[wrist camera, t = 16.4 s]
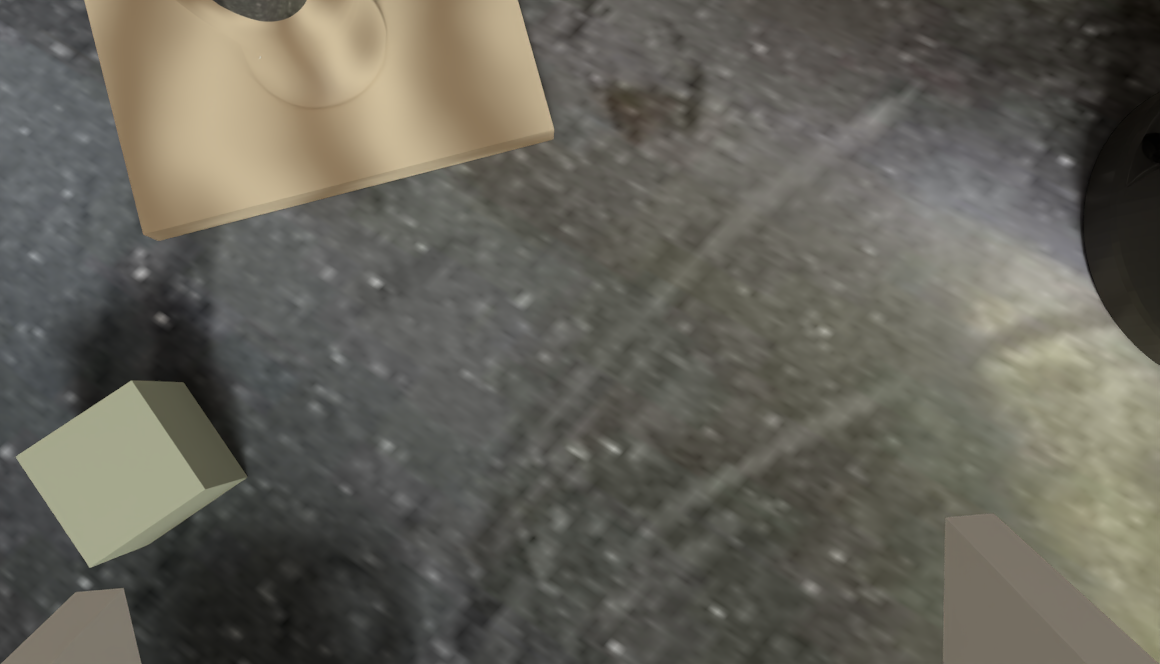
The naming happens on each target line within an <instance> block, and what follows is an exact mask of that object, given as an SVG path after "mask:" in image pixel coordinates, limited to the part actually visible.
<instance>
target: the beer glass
mask: <svg viewBox="0 0 1160 664" xmlns="http://www.w3.org/2000/svg"><path fill="white" fill-rule="evenodd" d="M176 1H177V2H178V3H180V4H181V5H182V6H184V7H185V8H186V9H187V10H189V11H190V12H191V13H193V14H194V15H195V16H197V17H198V18H200V19H201V20H203V21H204V22H206V23H207V24H209V25H210V26H212V27H214V28H215V29H217V30H218V31H220V32H221V33H223V34H225V35H226V36H228V37H230V38H231V39H233V40H235V41H236V42H238V43H239V44H240V45H241V48H242V51H243V54H244V56H245V59H246V61H247V64H248V66H249V68H250V69H251V71H252V73H253V74H254V76H255V77H256V79H257V80H258V81H259V82H260V83H261V85H262V86H263V87H264V88H265V89H266V90H268V91H269V92H270V93H271V94H273V95H274V96H276V97H277V98H279V99H281V100H283V101H285V102H287V103H290V104H292V105H296V106H300V107H305V108H327V107H332V106H336V105H340V104H342V103H345V102H347V101H349V100H351V99H353V98H354V97H356V96H357V95H359V94H360V93H361V92H363V91H364V90H365V89H366V88H367V87H368V86H369V85H370V84H371V83H372V81H373V80H374V79H375V77H376V76H377V74H378V72H379V70H380V68H381V66H382V63H383V60H384V57H385V53H386V45H387V35H386V27H385V23H384V19H383V17H382V14H381V12H380V10H379V8H378V6H377V4H376V3H375V1H374V0H176Z"/></svg>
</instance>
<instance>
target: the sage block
mask: <svg viewBox="0 0 1160 664" xmlns="http://www.w3.org/2000/svg"><path fill="white" fill-rule="evenodd" d="M16 458H17V460H18V461H19V463H20V464H21V466H22V467H23V469H24V470H25V472H26V473H27V475H28V476H29V478H30V479H31V481H32V482H33V484H34V485H35V487H36V488H37V490H38V491H39V493H40V494H41V496H42V497H43V499H44V500H45V502H46V503H47V505H48V506H49V507H50V509H51V510H52V512H53V513H54V515H55V516H56V518H57V519H58V521H59V522H60V524H61V525H62V527H63V528H64V530H65V531H66V533H67V534H68V536H69V537H70V539H71V540H72V542H73V543H74V545H75V546H76V548H77V549H78V551H79V552H80V554H81V555H82V557H83V558H84V560H85V561H86V563H87V564H88V566H89V567H90V568H91V567H93V566H96V565H98V564H101V563H103V562H106V561H108V560H111V559H113V558H116V557H119V556H121V555H124V554H126V553H129V552H131V551H134V550H136V549H139V548H141V547H144V546H147V545H149V544H150V543H152V542H153V541H155V540H156V539H158V538H159V537H160V536H162V535H163V534H165V533H166V532H168V531H169V530H171V529H172V528H174V527H175V526H177V525H178V524H180V523H181V522H183V521H184V520H185V519H187V518H188V517H190V516H191V515H193V514H194V513H196V512H197V511H199V510H200V509H202V508H203V507H205V506H206V505H207V504H209V503H210V502H212V501H213V500H215V499H216V498H218V497H219V496H221V495H222V494H224V493H225V492H227V491H228V490H230V489H231V488H232V487H234V486H235V485H237V484H238V483H240V482H241V481H243V480H244V479H246V478H247V475H246V474H245V472H244V471H243V469H242V468H241V466H240V465H239V463H238V462H237V461H236V459H235V458H234V456H233V455H232V453H231V452H230V450H229V449H228V447H227V446H226V444H225V443H224V441H223V440H222V438H221V437H220V435H219V434H218V432H217V431H216V429H215V428H214V427H213V425H212V424H211V422H210V421H209V419H208V418H207V416H206V415H205V413H204V412H203V410H202V409H201V407H200V406H199V404H198V403H197V401H196V400H195V398H194V397H193V396H192V394H191V393H190V391H189V390H188V388H187V387H186V385H185V384H184V382H161V381H134V380H131V381H130V382H128V383H127V384H125V385H124V386H122V387H121V388H119V389H118V390H116V391H115V392H113V393H112V394H110V395H109V396H107V397H106V398H104V399H103V400H101V401H100V402H98V403H97V404H95V405H93V406H92V407H90V408H89V409H87V410H86V411H84V412H83V413H81V414H80V415H78V416H77V417H75V418H74V419H72V420H71V421H69V422H68V423H66V424H65V425H63V426H62V427H60V428H59V429H57V430H56V431H54V432H53V433H51V434H50V435H48V436H46V437H45V438H43V439H42V440H40V441H39V442H37V443H36V444H34V445H33V446H31V447H30V448H28V449H27V450H25V451H24V452H22V453H21V454H19V455H18V456H16Z"/></svg>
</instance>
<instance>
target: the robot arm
mask: <svg viewBox="0 0 1160 664" xmlns="http://www.w3.org/2000/svg"><path fill="white" fill-rule="evenodd" d="M1084 240H1085V248H1086V254H1087V259H1088V263H1089V267H1090V270H1091V274H1092V277H1093V280H1094V282H1095V285H1096V288H1097V290H1098V292H1099V294H1100V297H1101V299H1102V301H1103V302H1104V304H1105V306H1106V308H1107V310H1108V311H1109V313H1110V315H1111V316H1112V318H1113V319H1114V321H1115V322H1116V323H1117V325H1118V326H1119V328H1120V329H1121V330H1122V331H1123V332H1124V334H1125V335H1126V336H1127V337H1128V338H1129V339H1130V340H1131V341H1132V343H1133V344H1134V345H1135V346H1136V347H1137V348H1139V349H1140V350H1141V351H1142V352H1143V353H1144V354H1145V355H1146V356H1148V357H1149V358H1150V359H1152V360H1153V361H1154V362H1155V363H1157V364H1158V365H1160V92H1159V93H1157V94H1156V95H1154V96H1152V97H1151V98H1149V99H1148V100H1146V101H1145V102H1143V103H1142V104H1141V105H1139V106H1138V107H1137V108H1136V109H1134V110H1133V111H1132V112H1131V113H1130V114H1129V115H1128V116H1127V117H1126V118H1125V119H1124V120H1123V121H1122V122H1121V123H1120V124H1119V126H1118V127H1117V128H1116V129H1115V130H1114V132H1113V133H1112V135H1111V136H1110V137H1109V139H1108V140H1107V142H1106V144H1105V145H1104V147H1103V149H1102V151H1101V153H1100V155H1099V157H1098V159H1097V161H1096V163H1095V166H1094V168H1093V171H1092V174H1091V177H1090V180H1089V185H1088V189H1087V193H1086V199H1085V207H1084ZM1 664H141V660H140V656H139V652H138V648H137V643H136V639H135V635H134V631H133V626H132V622H131V618H130V614H129V609H128V605H127V601H126V596H125V592H124V588H119V589H108V590H96V591H84V592H76V593H74V594H73V595H72V596H71V597H70V598H69V599H68V600H67V601H66V602H65V603H64V604H63V605H62V606H61V607H60V608H59V609H58V610H57V611H56V612H55V613H54V614H53V615H51V616H50V617H49V618H48V619H47V620H46V621H45V622H44V623H43V624H42V625H41V626H40V627H39V628H38V629H37V630H36V631H35V632H34V633H33V634H32V635H31V636H30V637H28V638H27V639H26V640H25V641H24V642H23V643H22V644H21V645H20V646H19V647H18V648H17V649H16V650H15V651H14V652H13V653H12V654H11V655H10V656H9V657H8V658H7V659H6V660H4V661H3V662H2V663H1ZM943 664H1159V663H1158V662H1156V661H1155V660H1154V659H1153V658H1152V657H1151V656H1150V655H1149V654H1148V653H1147V652H1145V651H1144V650H1143V649H1142V648H1141V647H1140V646H1139V645H1138V644H1137V643H1136V642H1134V641H1133V640H1132V639H1131V638H1130V637H1129V636H1128V635H1127V634H1126V633H1125V632H1123V631H1122V630H1121V629H1120V628H1119V627H1118V626H1117V625H1116V624H1115V623H1114V622H1112V621H1111V620H1110V619H1109V618H1108V617H1107V616H1106V615H1105V614H1104V613H1103V612H1101V611H1100V610H1099V609H1098V608H1097V607H1096V606H1095V605H1094V604H1093V603H1092V602H1091V601H1089V600H1088V599H1087V598H1086V597H1085V596H1084V595H1083V594H1082V593H1081V592H1080V591H1078V590H1077V589H1076V588H1075V587H1074V586H1073V585H1072V584H1071V583H1070V582H1069V581H1067V580H1066V579H1065V578H1064V577H1063V576H1062V575H1061V574H1060V573H1059V572H1058V571H1056V570H1055V569H1054V568H1053V567H1052V566H1051V565H1050V564H1049V563H1048V562H1047V561H1045V560H1044V559H1043V558H1042V557H1041V556H1040V555H1039V554H1038V553H1037V552H1036V551H1034V550H1033V549H1032V548H1031V547H1030V546H1029V545H1028V544H1027V543H1026V542H1025V541H1023V540H1022V539H1021V538H1020V537H1019V536H1018V535H1017V534H1016V533H1015V532H1014V531H1012V530H1011V529H1010V528H1009V527H1008V526H1007V525H1006V524H1005V523H1004V522H1003V521H1001V520H1000V519H999V518H998V517H997V516H996V515H995V514H994V513H991V514H979V515H967V516H956V517H945V570H944V632H943Z"/></svg>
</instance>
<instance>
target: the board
mask: <svg viewBox="0 0 1160 664" xmlns="http://www.w3.org/2000/svg"><path fill="white" fill-rule="evenodd" d="M374 1H375V3H376V4H377V6H378V8H379V10H380V12H381V14H382V17H383V19H384V23H385V27H386V35H387V45H386V53H385V57H384V60H383V63H382V66H381V68H380V70H379V72H378V74H377V76H376V77H375V79H374V80H373V81H372V83H371V84H370V85H369V86H368V87H367V88H366V89H365V90H364V91H363V92H361V93H360V94H359V95H357V96H356V97H354V98H353V99H351V100H349V101H347V102H345V103H342V104H340V105H336V106H332V107H327V108H305V107H300V106H296V105H292V104H290V103H287V102H285V101H283V100H281V99H279V98H277V97H276V96H274V95H273V94H271V93H270V92H269V91H268V90H266V89H265V88H264V87H263V86H262V85H261V83H260V82H259V81H258V80H257V79H256V77H255V76H254V74H253V73H252V71H251V69H250V68H249V66H248V64H247V61H246V59H245V56H244V54H243V51H242V48H241V45H240V44H239V43H238V42H236V41H235V40H233V39H231V38H230V37H228V36H226V35H225V34H223V33H221V32H220V31H218V30H217V29H215V28H214V27H212V26H210V25H209V24H207V23H206V22H204V21H203V20H201V19H200V18H198V17H197V16H195V15H194V14H193V13H191V12H190V11H189V10H187V9H186V8H185V7H184V6H182V5H181V4H180V3H178V2H177V1H176V0H85V4H86V8H87V12H88V16H89V20H90V24H91V28H92V32H93V36H94V40H95V44H96V48H97V52H98V56H99V60H100V64H101V68H102V72H103V76H104V80H105V84H106V88H107V92H108V96H109V100H110V104H111V108H112V112H113V116H114V120H115V124H116V128H117V132H118V136H119V140H120V144H121V148H122V151H123V155H124V159H125V163H126V167H127V171H128V175H129V179H130V183H131V187H132V191H133V195H134V199H135V203H136V207H137V211H138V215H139V219H140V223H141V227H142V231H143V235H146V236H148V237H151V238H153V239H155V240H158V241H160V240H164V239H168V238H172V237H176V236H180V235H184V234H187V233H191V232H195V231H199V230H203V229H207V228H211V227H215V226H219V225H222V224H226V223H230V222H234V221H238V220H242V219H246V218H250V217H254V216H257V215H261V214H265V213H269V212H273V211H277V210H281V209H285V208H289V207H292V206H296V205H300V204H304V203H308V202H312V201H316V200H320V199H324V198H327V197H331V196H335V195H339V194H343V193H347V192H351V191H355V190H359V189H362V188H366V187H370V186H374V185H378V184H382V183H386V182H390V181H394V180H397V179H401V178H405V177H409V176H413V175H417V174H421V173H425V172H429V171H432V170H436V169H440V168H444V167H448V166H452V165H456V164H460V163H464V162H467V161H471V160H475V159H479V158H483V157H487V156H491V155H495V154H499V153H502V152H506V151H510V150H514V149H518V148H522V147H526V146H530V145H534V144H538V143H541V142H545V141H549V140H553V137H554V127H553V123H552V120H551V116H550V113H549V109H548V106H547V102H546V99H545V95H544V91H543V88H542V84H541V81H540V77H539V74H538V70H537V67H536V63H535V60H534V56H533V52H532V49H531V45H530V42H529V38H528V35H527V31H526V28H525V24H524V20H523V17H522V13H521V10H520V6H519V3H518V0H374Z"/></svg>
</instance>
